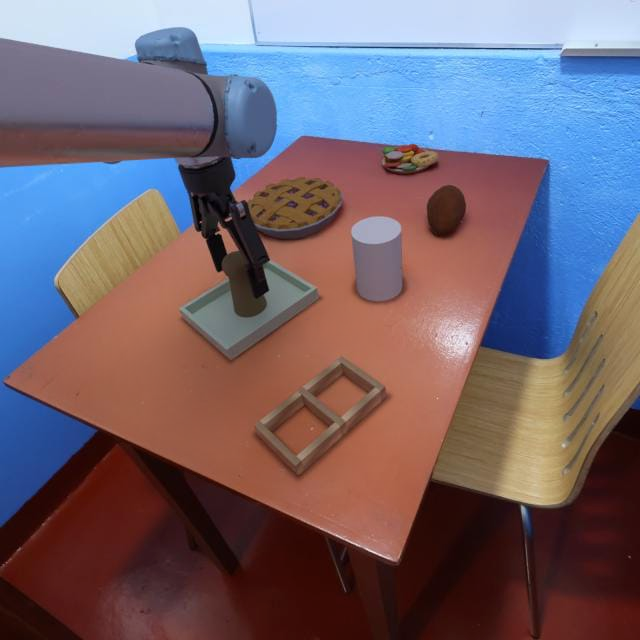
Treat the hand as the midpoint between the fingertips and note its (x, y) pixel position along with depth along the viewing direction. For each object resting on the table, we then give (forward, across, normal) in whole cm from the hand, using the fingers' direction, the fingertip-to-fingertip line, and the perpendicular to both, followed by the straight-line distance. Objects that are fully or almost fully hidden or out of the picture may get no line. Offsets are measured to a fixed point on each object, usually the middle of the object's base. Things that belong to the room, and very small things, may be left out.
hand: (241, 280), depth 81 cm
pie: (+7, +18, -26) cm, 32 cm away
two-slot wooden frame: (+7, -27, +7) cm, 29 cm away
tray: (+7, 0, 0) cm, 7 cm away
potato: (+7, -11, -42) cm, 44 cm away
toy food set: (+7, +13, -59) cm, 61 cm away
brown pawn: (+6, 0, 0) cm, 6 cm away
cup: (+7, -14, -19) cm, 25 cm away
